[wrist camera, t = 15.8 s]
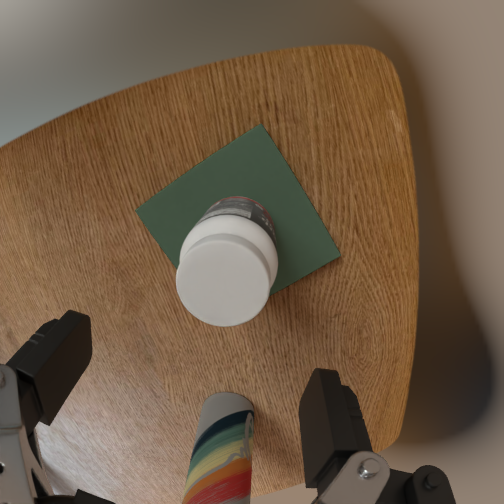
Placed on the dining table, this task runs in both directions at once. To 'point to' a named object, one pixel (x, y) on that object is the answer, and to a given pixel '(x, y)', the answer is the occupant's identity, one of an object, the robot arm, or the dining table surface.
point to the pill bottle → (228, 263)
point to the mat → (250, 186)
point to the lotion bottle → (222, 452)
